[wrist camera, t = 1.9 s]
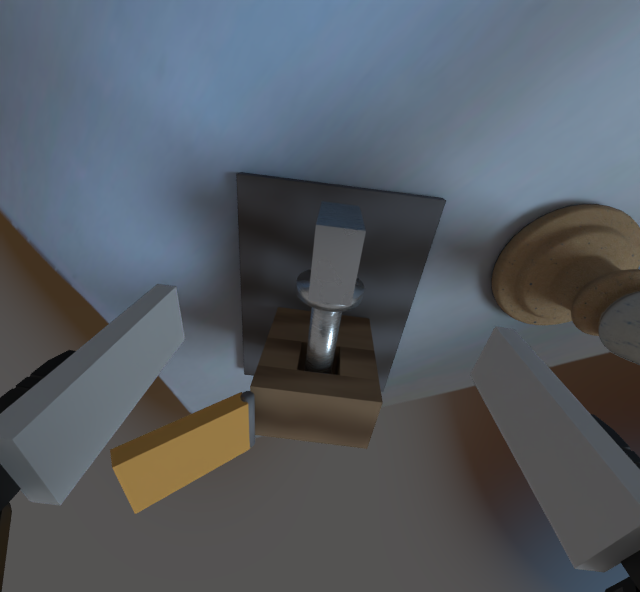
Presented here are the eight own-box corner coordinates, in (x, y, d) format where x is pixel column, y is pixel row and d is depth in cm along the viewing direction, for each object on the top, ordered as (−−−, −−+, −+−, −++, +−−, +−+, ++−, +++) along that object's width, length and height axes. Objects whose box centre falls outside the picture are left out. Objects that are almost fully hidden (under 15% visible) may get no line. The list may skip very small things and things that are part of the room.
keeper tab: (110, 449, 16) (112, 467, 16) (250, 388, 21) (257, 399, 20) (132, 496, 19) (135, 514, 18) (251, 433, 24) (257, 444, 23)
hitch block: (240, 172, 25) (168, 202, 14) (442, 198, 25) (515, 246, 15) (246, 368, 37) (210, 460, 27) (382, 385, 37) (398, 484, 27)
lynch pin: (307, 199, 21) (296, 222, 16) (374, 207, 21) (385, 233, 16) (292, 373, 30) (282, 423, 25) (339, 379, 30) (339, 430, 25)
